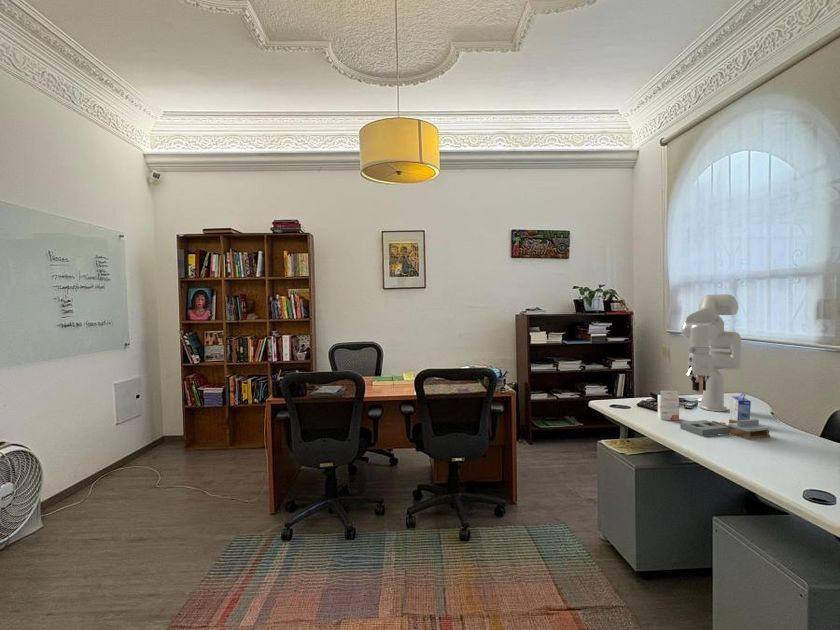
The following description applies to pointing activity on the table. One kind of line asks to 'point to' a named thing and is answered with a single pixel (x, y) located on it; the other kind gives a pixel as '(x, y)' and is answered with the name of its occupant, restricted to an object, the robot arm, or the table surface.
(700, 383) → the peg
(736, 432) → the box
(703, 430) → the socket board
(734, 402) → the ink cartridge box
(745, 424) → the lid
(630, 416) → the table surface
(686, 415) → the table surface
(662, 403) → the ink cartridge box
